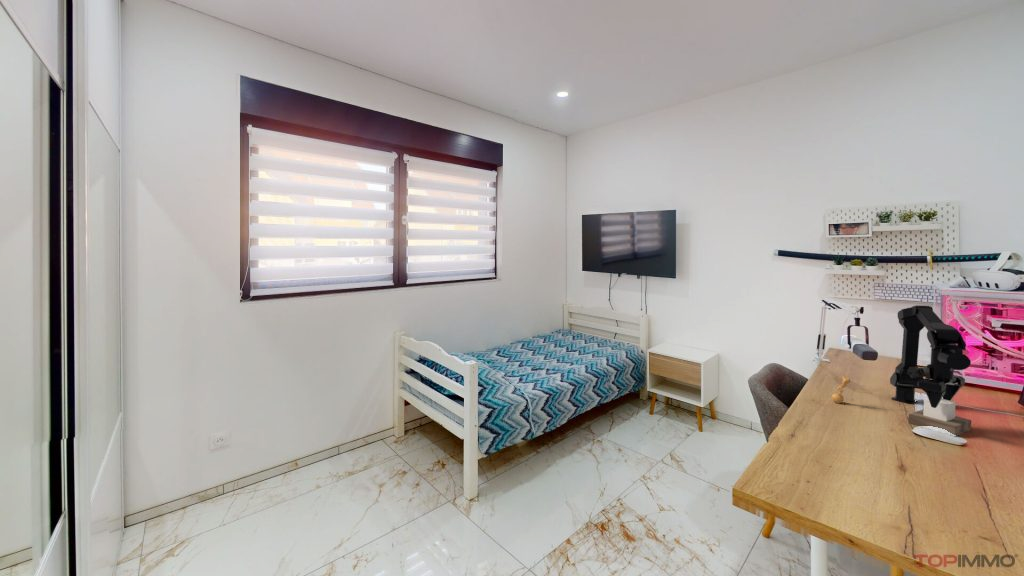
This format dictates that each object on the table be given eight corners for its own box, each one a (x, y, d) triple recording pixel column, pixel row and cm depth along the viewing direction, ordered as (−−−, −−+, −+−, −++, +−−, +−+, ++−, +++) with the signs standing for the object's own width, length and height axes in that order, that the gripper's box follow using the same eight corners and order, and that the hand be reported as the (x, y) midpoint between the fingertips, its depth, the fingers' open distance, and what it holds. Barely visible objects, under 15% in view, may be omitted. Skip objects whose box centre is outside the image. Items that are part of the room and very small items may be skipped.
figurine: (835, 399, 170) (836, 372, 169) (853, 403, 164) (854, 375, 164) (827, 403, 165) (828, 375, 164) (845, 407, 160) (846, 379, 159)
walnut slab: (924, 418, 149) (924, 408, 149) (970, 431, 138) (971, 420, 138) (908, 424, 144) (908, 414, 144) (954, 437, 133) (955, 426, 133)
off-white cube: (931, 412, 145) (932, 396, 145) (954, 418, 139) (955, 401, 139) (923, 415, 143) (924, 399, 142) (946, 421, 137) (947, 404, 137)
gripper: (924, 355, 151) (922, 394, 152) (899, 360, 143) (897, 402, 144) (966, 361, 140) (964, 403, 141) (941, 368, 133) (939, 412, 134)
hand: (939, 405), depth 141 cm, fingers open, 9 cm apart
